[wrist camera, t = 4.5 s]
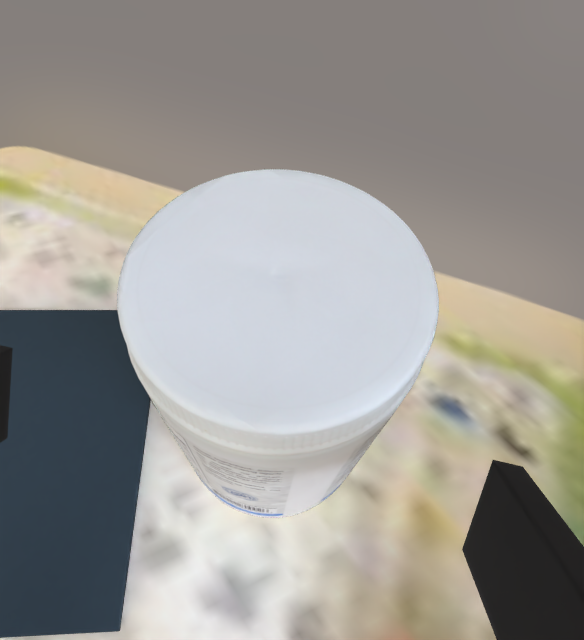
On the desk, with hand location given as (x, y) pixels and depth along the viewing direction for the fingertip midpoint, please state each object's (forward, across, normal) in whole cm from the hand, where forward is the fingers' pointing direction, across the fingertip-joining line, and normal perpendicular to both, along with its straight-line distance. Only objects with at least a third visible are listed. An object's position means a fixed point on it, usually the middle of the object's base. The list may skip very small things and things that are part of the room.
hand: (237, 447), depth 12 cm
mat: (+10, -13, -9) cm, 18 cm away
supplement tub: (+12, 0, -6) cm, 14 cm away
